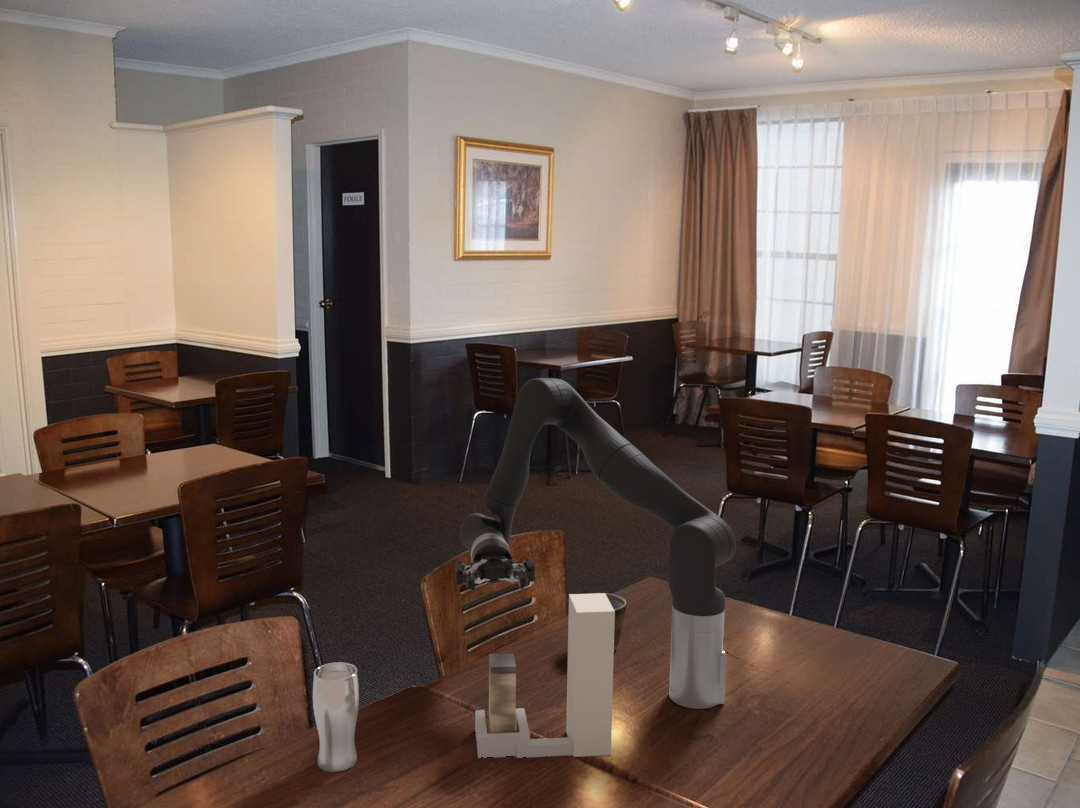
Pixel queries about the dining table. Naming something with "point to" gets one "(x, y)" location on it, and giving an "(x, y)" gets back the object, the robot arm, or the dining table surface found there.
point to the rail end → (502, 693)
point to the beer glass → (336, 714)
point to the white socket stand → (571, 691)
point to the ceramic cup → (617, 615)
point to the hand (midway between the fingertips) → (497, 584)
